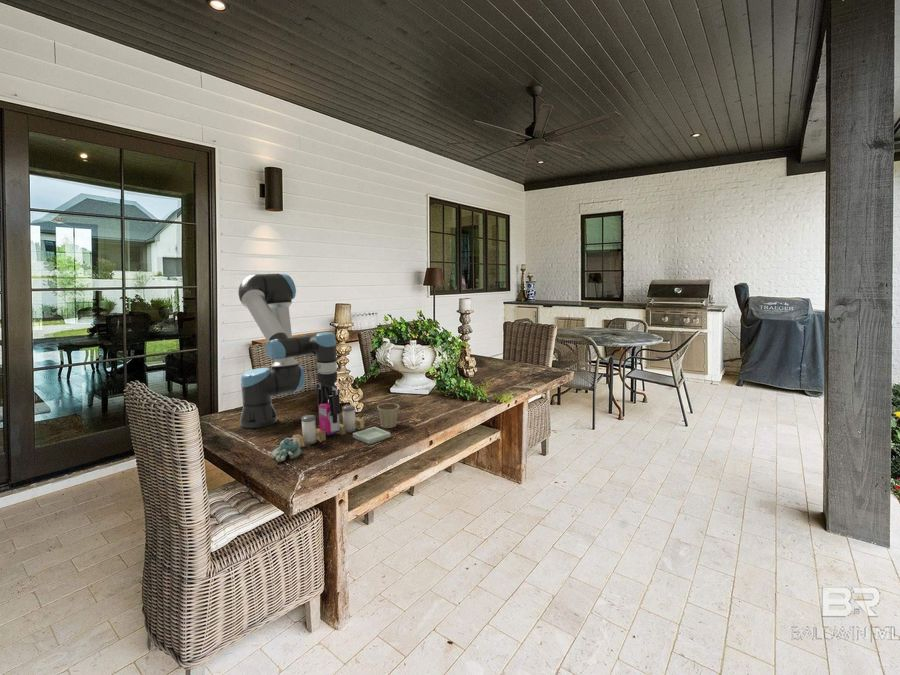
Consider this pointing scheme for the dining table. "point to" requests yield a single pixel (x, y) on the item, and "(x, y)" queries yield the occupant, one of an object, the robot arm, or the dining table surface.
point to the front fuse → (309, 429)
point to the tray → (371, 435)
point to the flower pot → (388, 414)
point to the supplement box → (326, 419)
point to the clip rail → (322, 436)
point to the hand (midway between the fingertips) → (329, 428)
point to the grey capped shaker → (349, 418)
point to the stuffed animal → (287, 449)
